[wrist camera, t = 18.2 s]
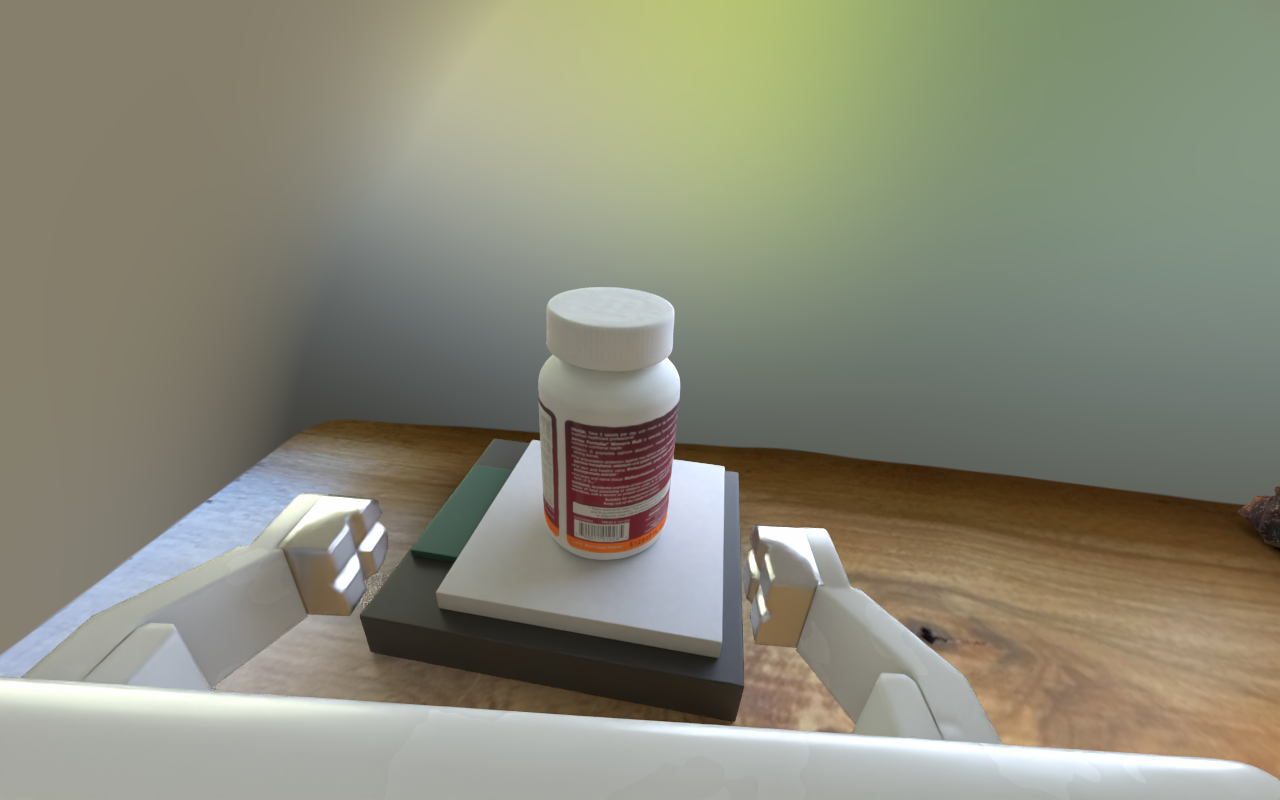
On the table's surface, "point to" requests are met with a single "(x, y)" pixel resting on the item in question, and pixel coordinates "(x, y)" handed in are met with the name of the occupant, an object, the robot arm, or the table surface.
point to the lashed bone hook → (1265, 517)
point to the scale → (574, 593)
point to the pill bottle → (607, 420)
